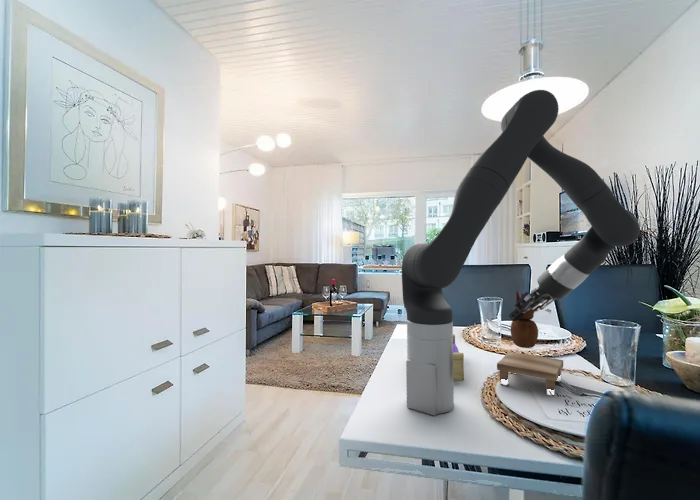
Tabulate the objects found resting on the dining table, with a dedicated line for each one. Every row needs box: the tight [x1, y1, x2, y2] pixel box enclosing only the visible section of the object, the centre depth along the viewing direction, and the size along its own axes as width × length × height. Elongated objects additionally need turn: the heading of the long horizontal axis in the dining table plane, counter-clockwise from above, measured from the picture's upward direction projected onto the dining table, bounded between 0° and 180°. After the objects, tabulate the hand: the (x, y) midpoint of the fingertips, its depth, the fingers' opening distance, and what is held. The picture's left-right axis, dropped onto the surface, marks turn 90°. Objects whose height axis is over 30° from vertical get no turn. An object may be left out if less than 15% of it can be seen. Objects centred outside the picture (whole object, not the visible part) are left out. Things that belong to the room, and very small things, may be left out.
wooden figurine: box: [510, 291, 539, 349], centre depth 94 cm, size 7×6×15 cm
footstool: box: [496, 351, 564, 390], centre depth 82 cm, size 12×12×5 cm
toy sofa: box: [453, 333, 465, 381], centre depth 94 cm, size 21×9×10 cm, turn 169°
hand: (517, 317), depth 96 cm, fingers closed on wooden figurine, 4 cm apart
